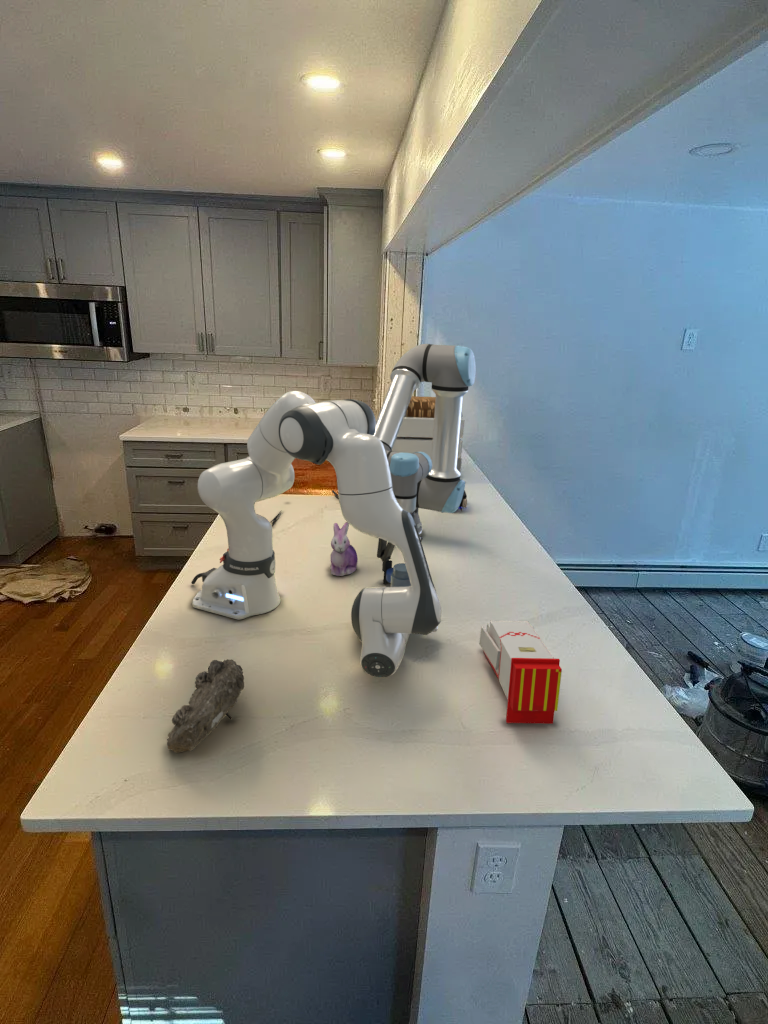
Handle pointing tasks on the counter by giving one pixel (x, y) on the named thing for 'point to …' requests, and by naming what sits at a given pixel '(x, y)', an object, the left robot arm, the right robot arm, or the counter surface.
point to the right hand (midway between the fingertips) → (396, 586)
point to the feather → (275, 519)
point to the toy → (523, 670)
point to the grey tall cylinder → (400, 576)
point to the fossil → (206, 705)
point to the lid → (389, 574)
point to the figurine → (342, 552)
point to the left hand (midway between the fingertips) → (401, 598)
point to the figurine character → (463, 501)
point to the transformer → (421, 429)
